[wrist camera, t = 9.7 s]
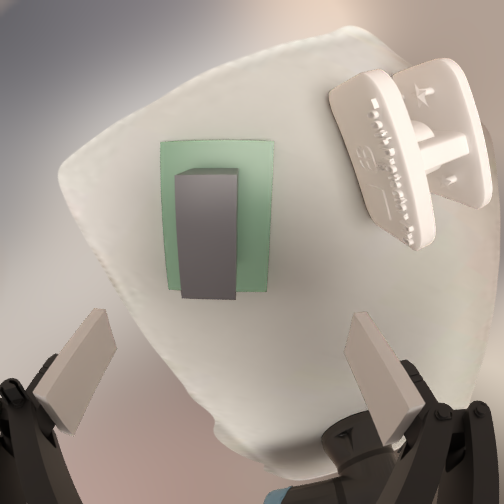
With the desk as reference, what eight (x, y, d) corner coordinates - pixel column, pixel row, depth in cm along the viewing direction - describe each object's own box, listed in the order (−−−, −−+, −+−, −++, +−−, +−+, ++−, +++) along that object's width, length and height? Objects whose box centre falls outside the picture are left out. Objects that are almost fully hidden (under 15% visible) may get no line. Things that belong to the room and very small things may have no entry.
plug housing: (237, 265, 29) (235, 299, 22) (194, 264, 29) (181, 298, 22) (238, 168, 25) (237, 174, 19) (191, 168, 25) (174, 175, 19)
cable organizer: (431, 192, 28) (496, 216, 17) (363, 222, 29) (419, 262, 19) (394, 75, 23) (458, 54, 12) (317, 95, 24) (362, 65, 13)
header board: (265, 285, 32) (269, 311, 27) (171, 283, 31) (159, 308, 26) (272, 141, 26) (279, 139, 21) (164, 142, 25) (146, 141, 20)
